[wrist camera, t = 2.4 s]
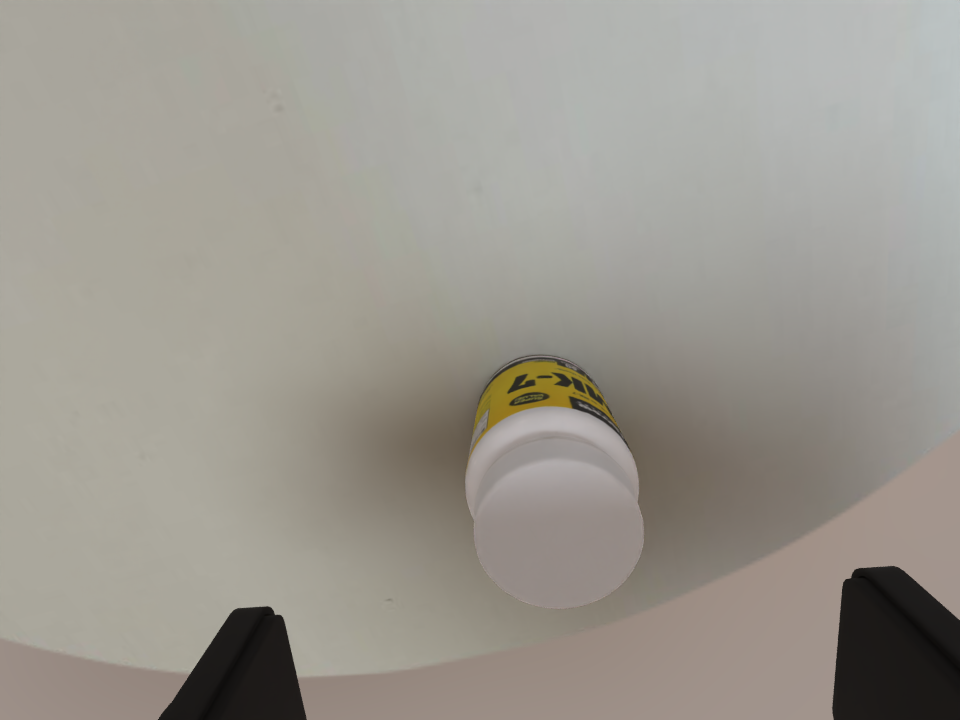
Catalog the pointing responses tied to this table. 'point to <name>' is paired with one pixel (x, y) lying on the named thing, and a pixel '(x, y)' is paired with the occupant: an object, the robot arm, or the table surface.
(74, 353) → the table surface
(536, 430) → the supplement bottle
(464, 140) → the table surface
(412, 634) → the table surface
